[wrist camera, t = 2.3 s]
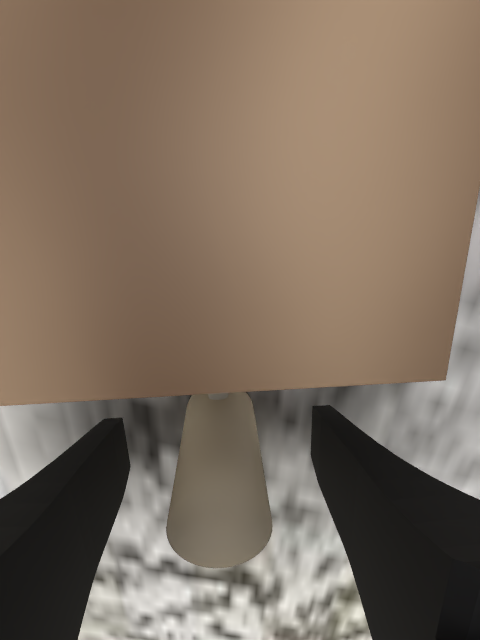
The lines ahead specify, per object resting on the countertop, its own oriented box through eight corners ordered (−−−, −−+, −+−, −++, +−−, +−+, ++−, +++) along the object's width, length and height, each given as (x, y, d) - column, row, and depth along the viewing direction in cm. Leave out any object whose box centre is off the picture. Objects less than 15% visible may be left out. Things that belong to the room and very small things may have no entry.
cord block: (276, -90, 9) (346, -471, 4) (276, 436, 14) (306, 561, 9) (101, -90, 8) (-59, -493, 4) (166, 443, 13) (136, 575, 9)
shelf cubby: (357, -190, 8) (746, -1326, 2) (331, 293, 12) (445, 379, 6) (3, -195, 8) (-732, -1560, 2) (91, 304, 12) (-49, 408, 6)
